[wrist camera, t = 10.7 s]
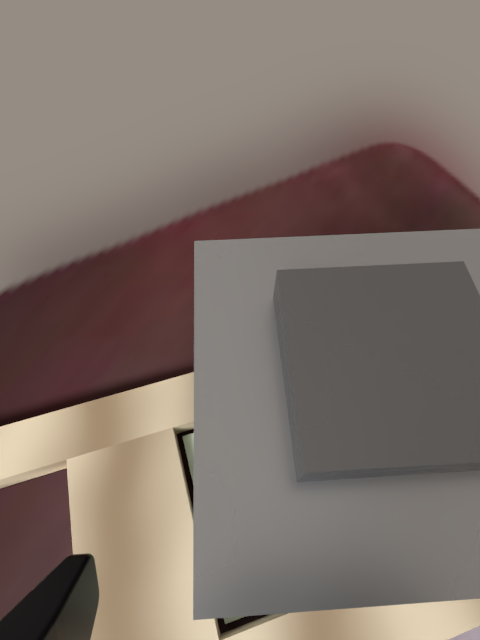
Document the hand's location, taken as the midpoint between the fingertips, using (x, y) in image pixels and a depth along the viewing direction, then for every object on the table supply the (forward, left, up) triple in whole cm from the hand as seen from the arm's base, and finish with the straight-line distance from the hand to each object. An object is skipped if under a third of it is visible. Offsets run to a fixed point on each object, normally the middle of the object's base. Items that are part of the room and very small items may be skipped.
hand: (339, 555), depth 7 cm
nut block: (+1, -2, -9) cm, 9 cm away
